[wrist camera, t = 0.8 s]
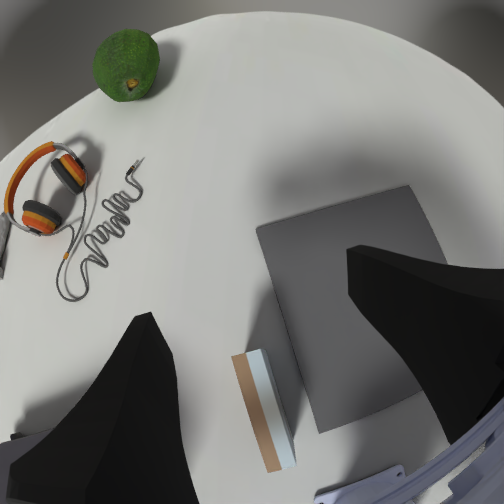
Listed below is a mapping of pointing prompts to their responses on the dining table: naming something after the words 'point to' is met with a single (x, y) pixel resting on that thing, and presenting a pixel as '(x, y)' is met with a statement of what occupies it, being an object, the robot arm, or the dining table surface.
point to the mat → (343, 301)
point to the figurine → (3, 235)
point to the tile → (265, 409)
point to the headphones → (46, 218)
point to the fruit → (126, 65)
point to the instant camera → (15, 455)
